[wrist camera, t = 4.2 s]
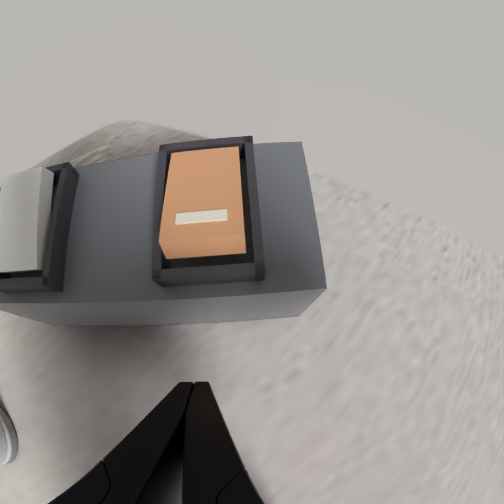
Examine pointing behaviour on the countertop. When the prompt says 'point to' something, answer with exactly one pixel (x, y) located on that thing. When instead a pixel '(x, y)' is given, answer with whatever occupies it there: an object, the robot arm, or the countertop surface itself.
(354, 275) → the countertop surface
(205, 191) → the orange rocker
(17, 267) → the white rocker
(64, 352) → the countertop surface
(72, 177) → the switch box
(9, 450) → the travel mug
